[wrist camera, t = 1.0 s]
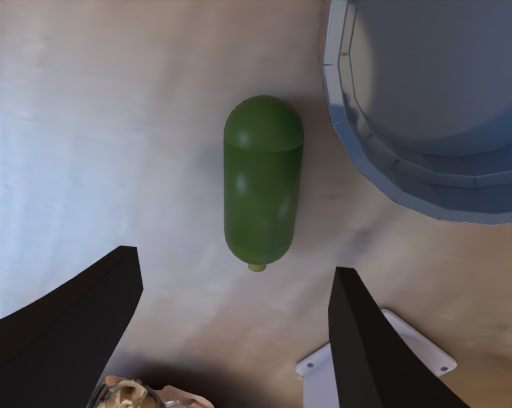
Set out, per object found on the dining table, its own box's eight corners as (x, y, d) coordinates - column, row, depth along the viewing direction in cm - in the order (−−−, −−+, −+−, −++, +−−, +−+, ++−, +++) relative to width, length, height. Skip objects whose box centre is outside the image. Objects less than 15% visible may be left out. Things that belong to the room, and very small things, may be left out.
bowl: (442, 218, 21) (480, 277, 17) (258, 54, 18) (244, 72, 13) (733, 8, 15) (920, 10, 10) (535, -309, 11) (686, -508, 7)
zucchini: (286, 247, 24) (293, 289, 20) (225, 246, 24) (223, 289, 20) (301, 88, 19) (315, 109, 15) (225, 86, 18) (221, 106, 15)
